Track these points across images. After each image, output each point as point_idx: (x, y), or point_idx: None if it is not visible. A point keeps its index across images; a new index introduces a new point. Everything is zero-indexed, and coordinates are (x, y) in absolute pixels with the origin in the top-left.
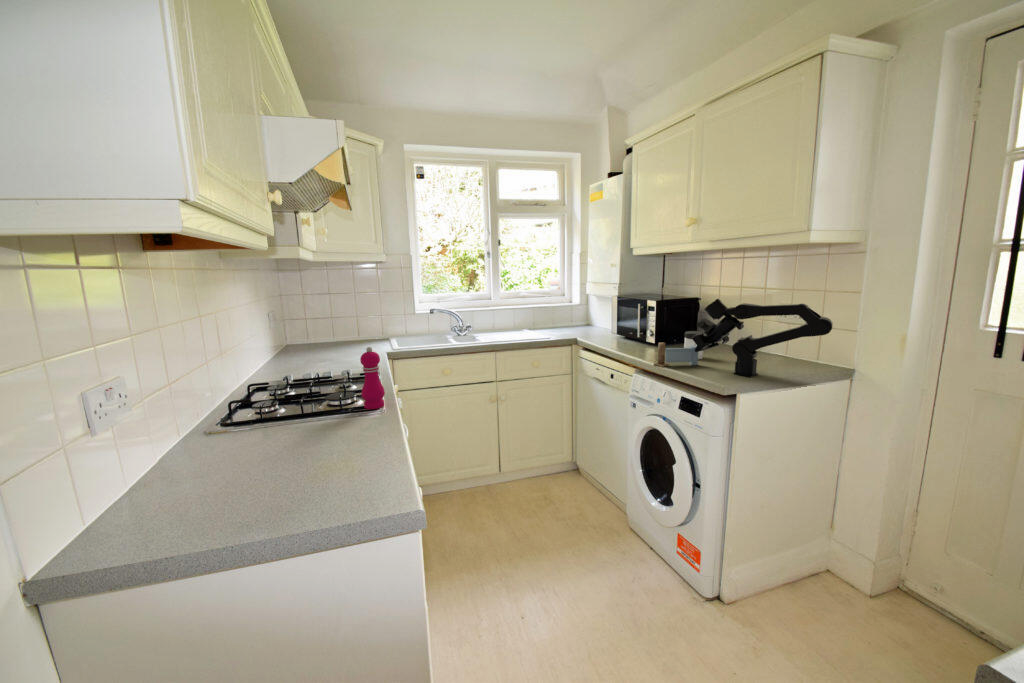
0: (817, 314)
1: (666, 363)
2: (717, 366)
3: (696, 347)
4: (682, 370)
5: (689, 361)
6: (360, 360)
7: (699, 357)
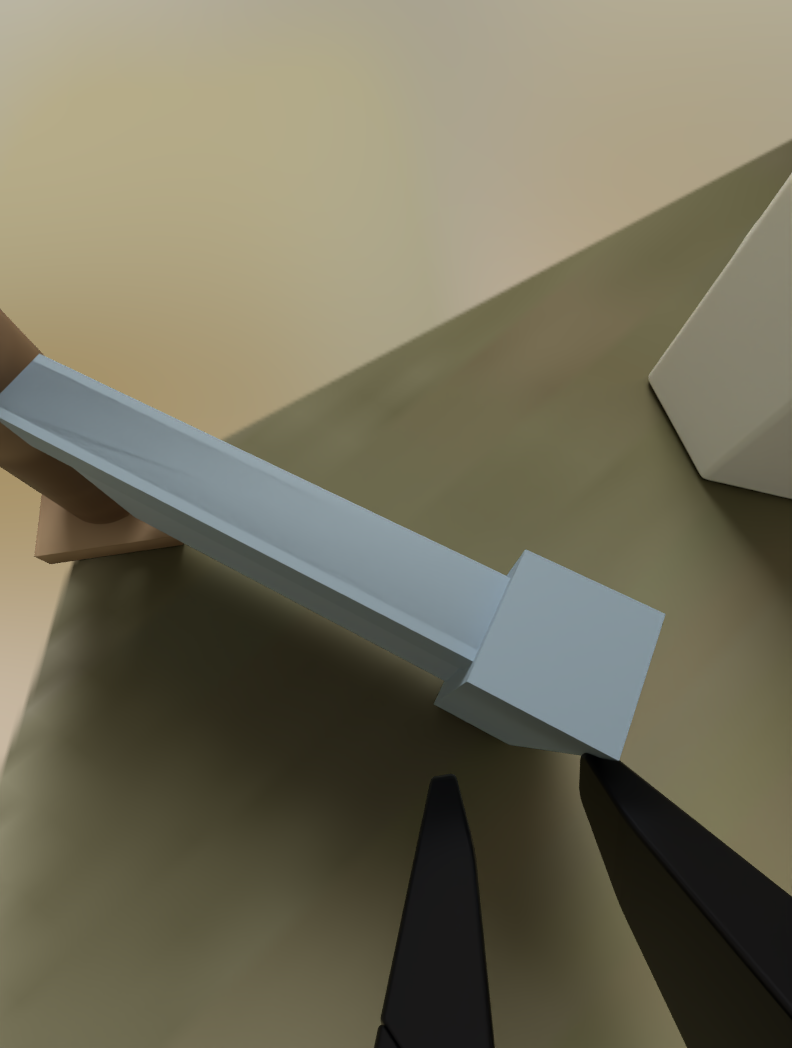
0: None
1: None
2: None
3: (408, 903)
4: (83, 849)
5: (418, 665)
6: None
7: None
